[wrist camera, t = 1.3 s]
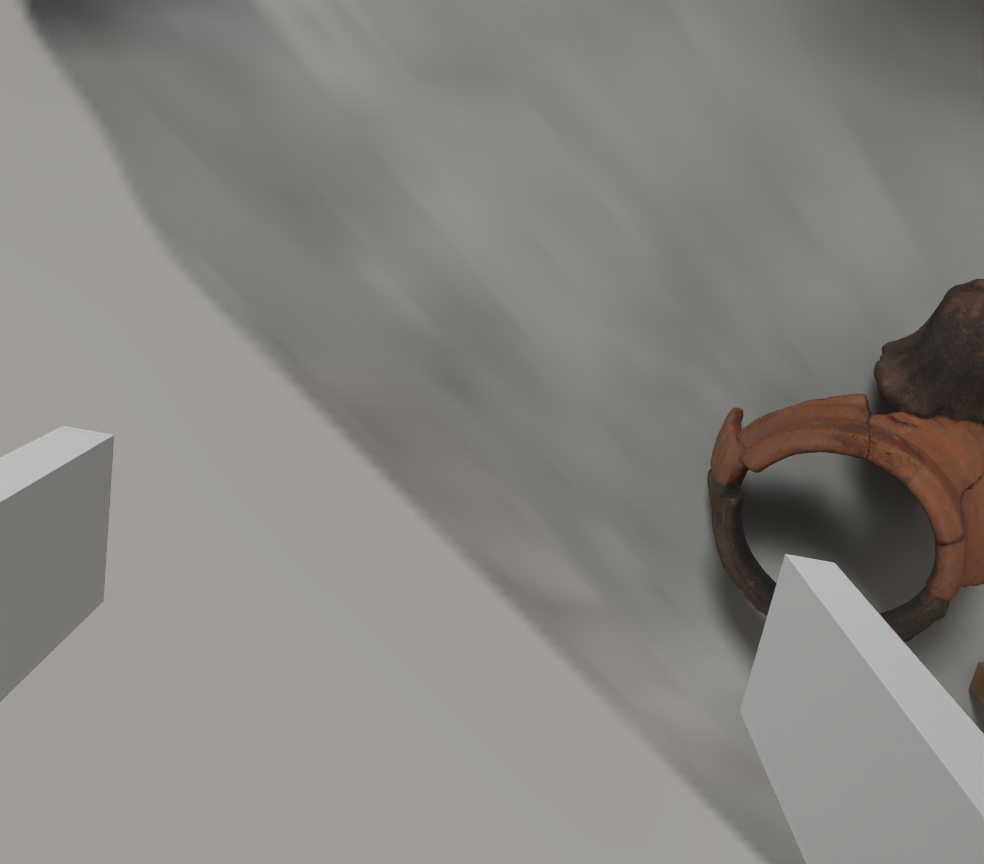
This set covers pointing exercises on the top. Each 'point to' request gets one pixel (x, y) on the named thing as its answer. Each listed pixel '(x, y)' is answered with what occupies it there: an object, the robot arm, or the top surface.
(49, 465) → the robot arm
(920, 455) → the broken pottery fragment
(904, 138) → the top surface
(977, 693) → the brown wooden tray
